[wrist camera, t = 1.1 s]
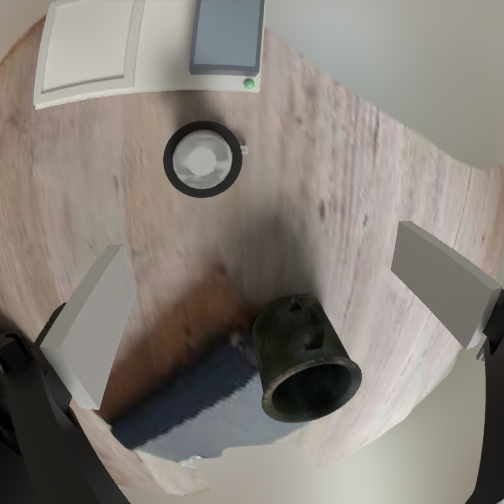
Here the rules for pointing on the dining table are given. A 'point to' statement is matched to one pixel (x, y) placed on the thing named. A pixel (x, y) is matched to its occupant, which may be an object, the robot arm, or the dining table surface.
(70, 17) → the board
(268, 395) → the mug
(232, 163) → the push button
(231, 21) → the blue-grey rectangular block
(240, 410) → the dining table surface
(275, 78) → the dining table surface
